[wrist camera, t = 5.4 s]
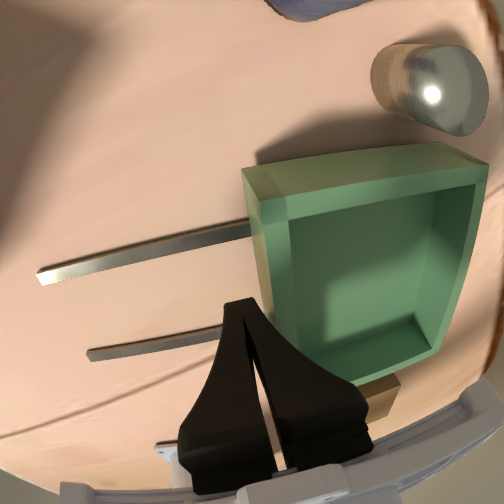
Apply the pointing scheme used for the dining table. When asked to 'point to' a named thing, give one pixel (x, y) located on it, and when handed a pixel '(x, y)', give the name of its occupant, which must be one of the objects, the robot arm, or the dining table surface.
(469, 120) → the cylinder
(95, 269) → the rails
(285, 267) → the green tray
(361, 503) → the robot arm
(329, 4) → the flask
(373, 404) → the walnut block
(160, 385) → the dining table surface
